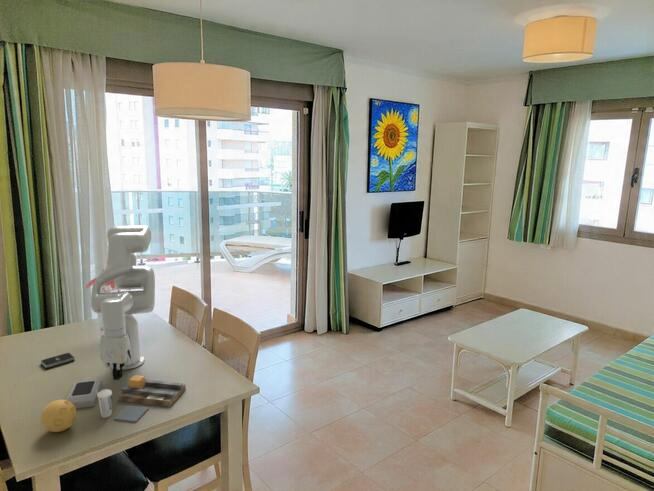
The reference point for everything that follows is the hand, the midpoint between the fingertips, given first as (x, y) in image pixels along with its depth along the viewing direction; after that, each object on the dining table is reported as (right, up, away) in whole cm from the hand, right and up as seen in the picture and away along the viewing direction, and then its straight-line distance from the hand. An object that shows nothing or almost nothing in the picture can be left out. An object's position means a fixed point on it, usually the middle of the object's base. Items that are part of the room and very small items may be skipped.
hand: (117, 378), depth 167 cm
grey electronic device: (-11, -7, -2) cm, 13 cm away
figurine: (-26, +7, +56) cm, 62 cm away
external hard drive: (-36, -1, +23) cm, 43 cm away
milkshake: (+2, -9, -13) cm, 16 cm away
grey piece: (+13, -6, 0) cm, 14 cm away
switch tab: (+7, -4, 0) cm, 8 cm away
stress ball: (-9, -11, -22) cm, 26 cm away
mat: (+11, -9, -13) cm, 19 cm away
